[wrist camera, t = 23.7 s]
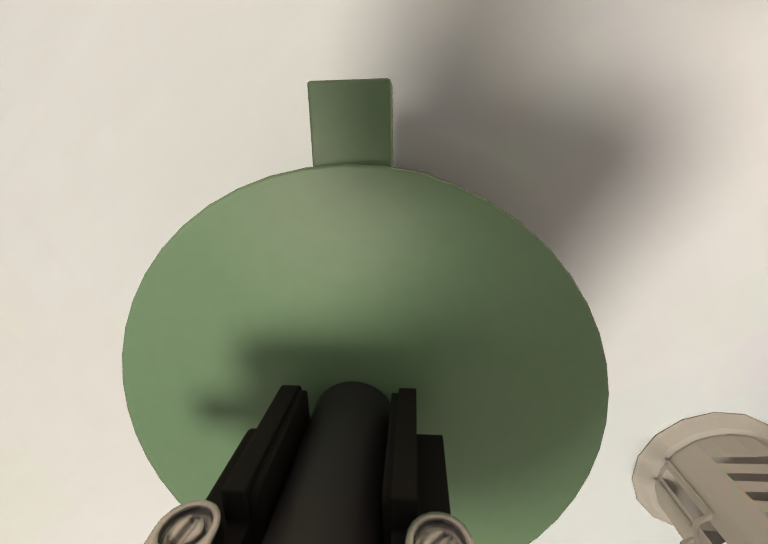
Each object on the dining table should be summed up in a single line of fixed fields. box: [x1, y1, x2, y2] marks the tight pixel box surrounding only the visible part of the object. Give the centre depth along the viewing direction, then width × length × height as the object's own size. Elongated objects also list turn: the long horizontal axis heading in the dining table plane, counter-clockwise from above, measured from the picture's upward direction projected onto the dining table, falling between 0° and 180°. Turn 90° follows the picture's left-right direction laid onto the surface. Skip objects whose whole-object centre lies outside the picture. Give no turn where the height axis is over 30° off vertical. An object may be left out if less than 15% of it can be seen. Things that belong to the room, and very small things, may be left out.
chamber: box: [307, 78, 435, 178], centre depth 19 cm, size 15×20×12 cm
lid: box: [122, 164, 609, 544], centre depth 10 cm, size 16×16×7 cm
